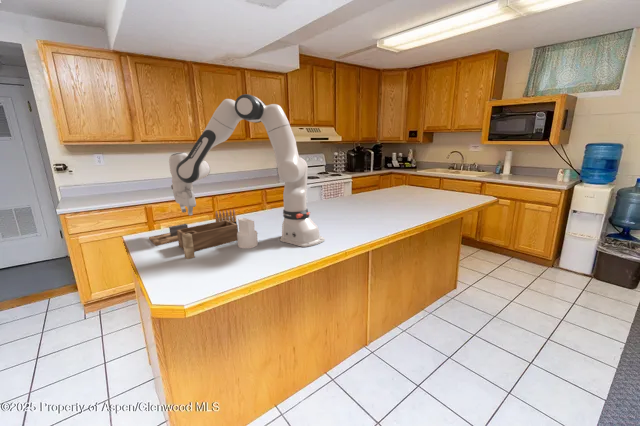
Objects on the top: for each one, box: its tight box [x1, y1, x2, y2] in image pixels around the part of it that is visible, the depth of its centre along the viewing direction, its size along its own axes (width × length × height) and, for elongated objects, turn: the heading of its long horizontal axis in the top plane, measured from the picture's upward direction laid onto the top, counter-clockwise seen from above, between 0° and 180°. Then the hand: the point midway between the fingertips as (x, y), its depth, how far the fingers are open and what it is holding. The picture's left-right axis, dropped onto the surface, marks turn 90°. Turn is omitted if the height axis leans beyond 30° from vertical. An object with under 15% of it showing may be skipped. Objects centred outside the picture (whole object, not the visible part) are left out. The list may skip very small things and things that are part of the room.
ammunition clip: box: [215, 208, 238, 225], centre depth 155 cm, size 11×2×12 cm, turn 117°
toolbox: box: [177, 219, 239, 253], centre depth 138 cm, size 12×24×8 cm, turn 132°
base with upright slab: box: [236, 217, 259, 249], centre depth 135 cm, size 9×9×12 cm
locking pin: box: [182, 233, 196, 260], centre depth 122 cm, size 3×3×10 cm
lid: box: [148, 223, 189, 247], centre depth 149 cm, size 13×25×6 cm, turn 132°
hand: (187, 213), depth 148 cm, fingers open, 8 cm apart
